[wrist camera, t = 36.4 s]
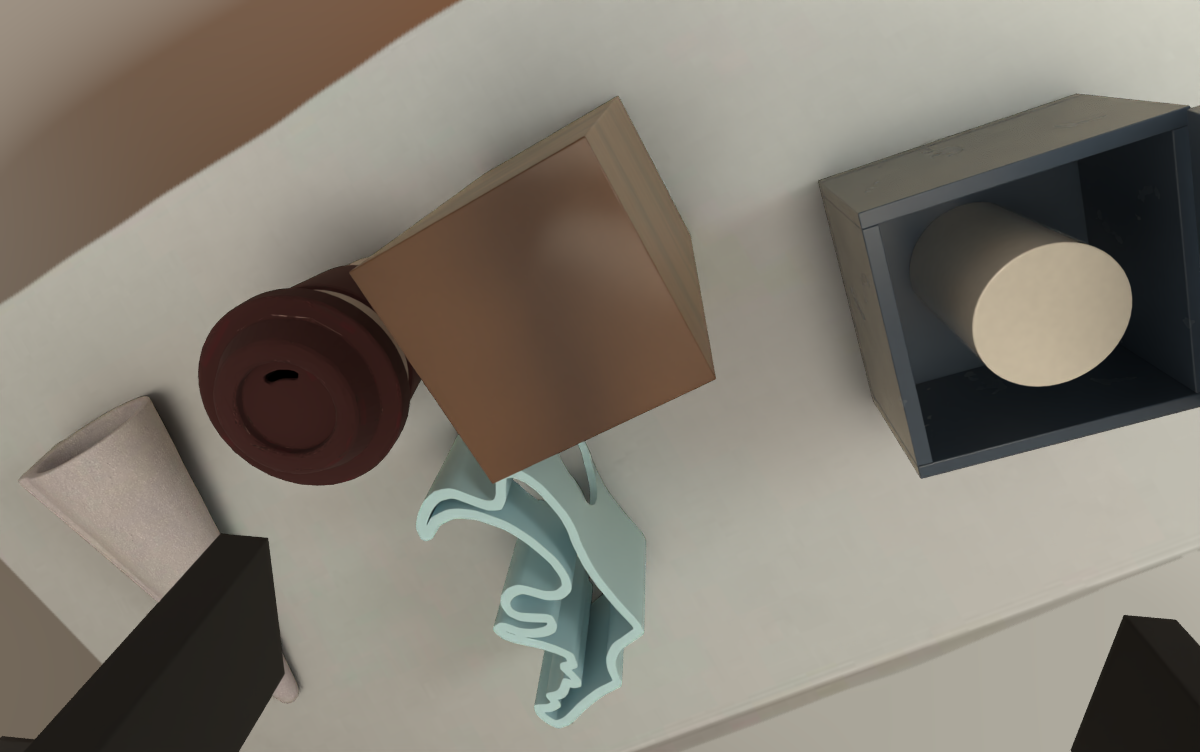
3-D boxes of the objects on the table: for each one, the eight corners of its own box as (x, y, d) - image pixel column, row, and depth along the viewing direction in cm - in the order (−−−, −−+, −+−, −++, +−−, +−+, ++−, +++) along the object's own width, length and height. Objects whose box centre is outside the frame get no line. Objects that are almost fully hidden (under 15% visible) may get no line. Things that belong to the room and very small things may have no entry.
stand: (618, 95, 44) (585, 135, 24) (690, 236, 47) (716, 379, 26) (483, 174, 46) (347, 272, 26) (560, 304, 49) (492, 485, 29)
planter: (361, 711, 57) (106, 443, 46) (265, 747, 59) (-3, 497, 48) (386, 630, 64) (169, 380, 53) (299, 664, 66) (72, 429, 55)
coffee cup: (436, 405, 52) (356, 533, 38) (293, 346, 51) (159, 456, 37) (487, 272, 48) (419, 361, 35) (334, 206, 48) (202, 270, 34)
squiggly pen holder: (681, 577, 56) (686, 673, 48) (567, 632, 59) (551, 732, 50) (540, 378, 51) (516, 445, 42) (421, 447, 53) (376, 524, 45)
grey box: (873, 401, 50) (920, 479, 41) (817, 180, 45) (857, 213, 36) (1108, 335, 47) (1215, 403, 38) (1077, 93, 42) (1190, 105, 33)
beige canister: (960, 179, 44) (1040, 213, 34) (1062, 238, 45) (1167, 288, 35) (884, 286, 46) (941, 345, 37) (982, 340, 47) (1061, 411, 38)
